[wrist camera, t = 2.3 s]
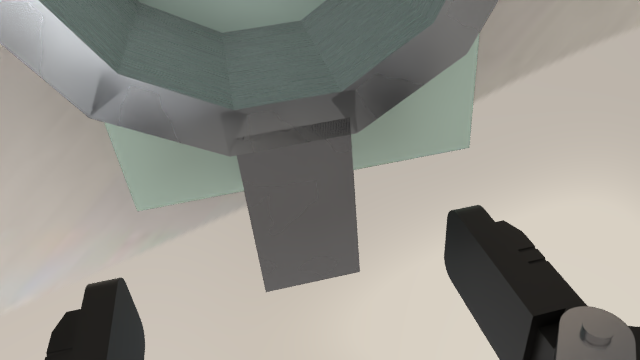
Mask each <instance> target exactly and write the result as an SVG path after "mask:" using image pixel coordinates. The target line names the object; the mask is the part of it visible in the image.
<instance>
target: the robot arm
mask: <svg viewBox="0 0 640 360" xmlns="http://www.w3.org/2000/svg"><path fill="white" fill-rule="evenodd" d="M446 229H447V230H446V241H445V253H444V260H445V266H446V270H447V273H448V275H449V277H450V279H451V281H452V283H453V284H454V286H455V288H456V289H457V291H458V293H459V294H460V296H461V297H462V299H463V300H464V302H465V304H466V306H467V307H468V309H469V310H470V312H471V313H472V315H473V317H474V319H475V320H476V322H477V323H478V325H479V327H480V328H481V330H482V332H483V333H484V335H485V336H486V338H487V340H488V341H489V343H490V345H491V346H492V348H493V349H494V351H495V352H496V354H497V356H498V358H499V359H500V360H640V327H633V326H627V325H626V323H624V322H623V321H622V320H621V319H620V318H618V317H617V316H615V315H614V314H612V313H610V312H608V311H605V310H602V309H599V308H595V307H589V306H587V305H586V304H585V303H584V302H583V301H582V299H581V298H580V297H579V296H578V295H577V294H576V293H575V291H574V290H573V289H572V288H571V287H570V286H569V284H568V283H567V282H566V281H565V280H564V279H563V278H562V276H561V275H560V274H559V273H558V272H557V271H556V270H555V269H554V267H553V266H552V265H551V264H550V263H549V262H548V261H546V260H545V257H544V256H543V255H542V254H541V253H540V252H539V250H538V249H535V246H534V245H533V243H532V242H531V241H530V240H529V239H528V238H527V236H526V235H525V234H524V233H523V232H522V231H520V230H519V229H517V228H515V227H513V226H512V225H510V224H509V223H507V222H505V221H499V222H495V221H494V220H493V219H492V218H491V217H490V215H489V214H488V213H487V212H486V211H485V210H484V208H483V207H481V206H480V205H476V206H471V207H466V208H462V209H456V210H451V211H450V212H449V213H448V217H447V228H446ZM144 352H145V338H144V330H143V326H142V322H141V319H140V317H139V314H138V312H137V309H136V307H135V305H134V302H133V300H132V297H131V295H130V292H129V290H128V287H127V285H126V283H125V281H124V279H123V278H117V279H112V280H107V281H102V282H97V283H92V284H88V285H87V287H86V289H85V293H84V298H83V302H82V307H81V309H79V310H74V311H69V312H66V313H65V315H64V316H63V318H62V319H61V320H60V322H59V323H58V325H57V326H56V327H55V329H54V330H53V332H52V334H51V338H50V342H49V345H48V349H47V357H45V360H144Z"/></svg>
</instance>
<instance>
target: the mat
mask: <svg viewBox="0 0 640 360" xmlns="http://www.w3.org/2000/svg"><path fill="white" fill-rule="evenodd" d="M138 1H139V2H140V3H143V4H146V5H149V6H151V7H154V8H157V9H159V10H162V11H165V12H167V13H170V14H173V15H176V16H178V17H181V18H184V19H186V20H189V21H192V22H194V23H197V24H200V25H203V26H205V27H208V28H211V29H213V30H216V31H219V32H221V33H224V32H230V31H237V30H243V29H250V28H256V27H262V26H269V25H275V24H282V23H288V22H295V21H300V20H302V19H303V18H304V17H305V16H307V15H308V14H309V13H311V12H312V11H313V10H314V9H316V8H317V7H318V6H319V5H321V4H322V3H323V2H324V1H326V0H138ZM478 44H479V34H478V36H477V38H476V39H475V41H474V43H473V45H472V46H471V48H470V50H469V51H468V53H467V54H466V55H465V56H464V57H462V58H461V59H459V60H458V61H457V62H455V63H454V64H452V65H451V66H450V67H448V68H447V69H446V70H444V71H443V72H441V73H440V74H439V75H437V76H436V77H435V78H433V79H432V80H430V81H429V82H428V83H426V84H425V85H423V86H422V87H421V88H419V89H418V90H417V91H415V92H414V93H412V94H411V95H410V96H408V97H407V98H405V99H404V100H403V101H401V102H400V103H399V104H397V105H396V106H394V107H393V108H392V109H390V110H389V111H388V112H386V113H385V114H383V115H382V116H381V117H379V118H378V119H376V120H375V121H374V122H372V123H371V124H370V125H368V126H367V127H365V128H364V129H363V130H361V131H360V132H358V133H356V134H351V142H352V157H353V170H356V169H361V168H366V167H372V166H377V165H381V164H387V163H393V162H398V161H403V160H408V159H413V158H418V157H424V156H429V155H434V154H439V153H444V152H450V151H455V150H460V149H465V148H469V145H470V133H471V121H472V111H473V100H474V89H475V77H476V66H477V55H478ZM104 123H105V126H106V129H107V131H108V134H109V137H110V139H111V142H112V145H113V147H114V150H115V153H116V155H117V158H118V161H119V163H120V166H121V169H122V171H123V174H124V177H125V180H126V182H127V185H128V188H129V190H130V193H131V196H132V198H133V201H134V204H135V206H136V209H137V211H142V210H148V209H153V208H158V207H163V206H169V205H174V204H179V203H184V202H189V201H195V200H200V199H205V198H210V197H215V196H221V195H226V194H231V193H236V192H241V191H244V187H243V183H242V178H241V174H240V169H239V164H238V160H237V155H236V156H231V157H229V156H226V155H222V154H218V153H215V152H211V151H207V150H204V149H200V148H197V147H193V146H189V145H186V144H182V143H178V142H175V141H171V140H167V139H164V138H160V137H157V136H153V135H149V134H146V133H142V132H138V131H135V130H131V129H128V128H124V127H120V126H117V125H113V124H109V123H106V122H104Z"/></svg>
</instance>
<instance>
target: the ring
mask: <svg viewBox="0 0 640 360" xmlns="http://www.w3.org/2000/svg"><path fill="white" fill-rule="evenodd" d="M497 2H498V0H326V1H324V2H323V3H322V4H321V5H319V6H318V7H317V8H316V9H314V10H313V11H312V12H311V13H309V14H308V15H307V16H305V17H304V18H303V19H302V20H300V21H295V22H288V23H282V24H275V25H269V26H262V27H256V28H250V29H243V30H237V31H230V32H224V33H221V32H219V31H216V30H213V29H211V28H208V27H205V26H203V25H200V24H197V23H194V22H192V21H189V20H186V19H184V18H181V17H178V16H176V15H173V14H170V13H167V12H165V11H162V10H159V9H157V8H154V7H151V6H149V5H146V4H143V3H140V2H139V1H138V0H0V44H1V45H3V46H4V47H5V48H6V49H7V50H9V51H10V52H11V53H12V54H13V55H15V56H16V57H17V58H18V59H19V60H21V61H22V62H23V63H24V64H25V65H27V66H28V67H29V68H30V69H31V70H33V71H34V72H35V73H36V74H37V75H38V76H40V77H41V78H42V79H43V80H44V81H46V82H47V83H48V84H49V85H50V86H52V87H53V88H54V89H55V90H56V91H58V92H59V93H60V94H61V95H62V96H64V97H65V98H66V99H67V100H68V101H70V102H71V103H72V104H73V105H74V106H76V107H77V108H78V109H79V110H80V111H81V112H83V113H84V114H85V115H86V116H87V117H89V118H91V119H95V120H98V121H102V122H106V123H109V124H113V125H117V126H120V127H124V128H128V129H131V130H135V131H138V132H142V133H146V134H149V135H153V136H157V137H160V138H164V139H167V140H171V141H175V142H178V143H182V144H186V145H189V146H193V147H197V148H200V149H204V150H207V151H211V152H215V153H218V154H222V155H226V156H229V157H231V156H236V155H237V160H238V164H239V169H240V174H241V178H242V183H243V187H244V192H245V197H246V201H247V206H248V210H249V215H250V220H251V225H252V229H253V234H254V239H255V243H256V248H257V252H258V257H259V262H260V266H261V271H262V276H263V280H264V285H265V290H266V292H268V291H273V290H278V289H282V288H287V287H292V286H296V285H301V284H305V283H310V282H314V281H319V280H324V279H328V278H333V277H338V276H342V275H347V274H351V273H356V272H359V271H360V268H359V253H358V236H357V220H356V205H355V189H354V173H353V157H352V142H351V134H356V133H358V132H360V131H361V130H363V129H364V128H365V127H367V126H368V125H370V124H371V123H372V122H374V121H375V120H376V119H378V118H379V117H381V116H382V115H383V114H385V113H386V112H388V111H389V110H390V109H392V108H393V107H394V106H396V105H397V104H399V103H400V102H401V101H403V100H404V99H405V98H407V97H408V96H410V95H411V94H412V93H414V92H415V91H417V90H418V89H419V88H421V87H422V86H423V85H425V84H426V83H428V82H429V81H430V80H432V79H433V78H435V77H436V76H437V75H439V74H440V73H441V72H443V71H444V70H446V69H447V68H448V67H450V66H451V65H452V64H454V63H455V62H457V61H458V60H459V59H461V58H462V57H464V56H465V55H466V54H467V53H468V51H469V50H470V48H471V46H472V45H473V43H474V41H475V39H476V38H477V36H478V34H479V33H480V31H481V29H482V28H483V26H484V24H485V22H486V21H487V19H488V17H489V16H490V14H491V12H492V11H493V9H494V7H495V5H496V4H497Z"/></svg>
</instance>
